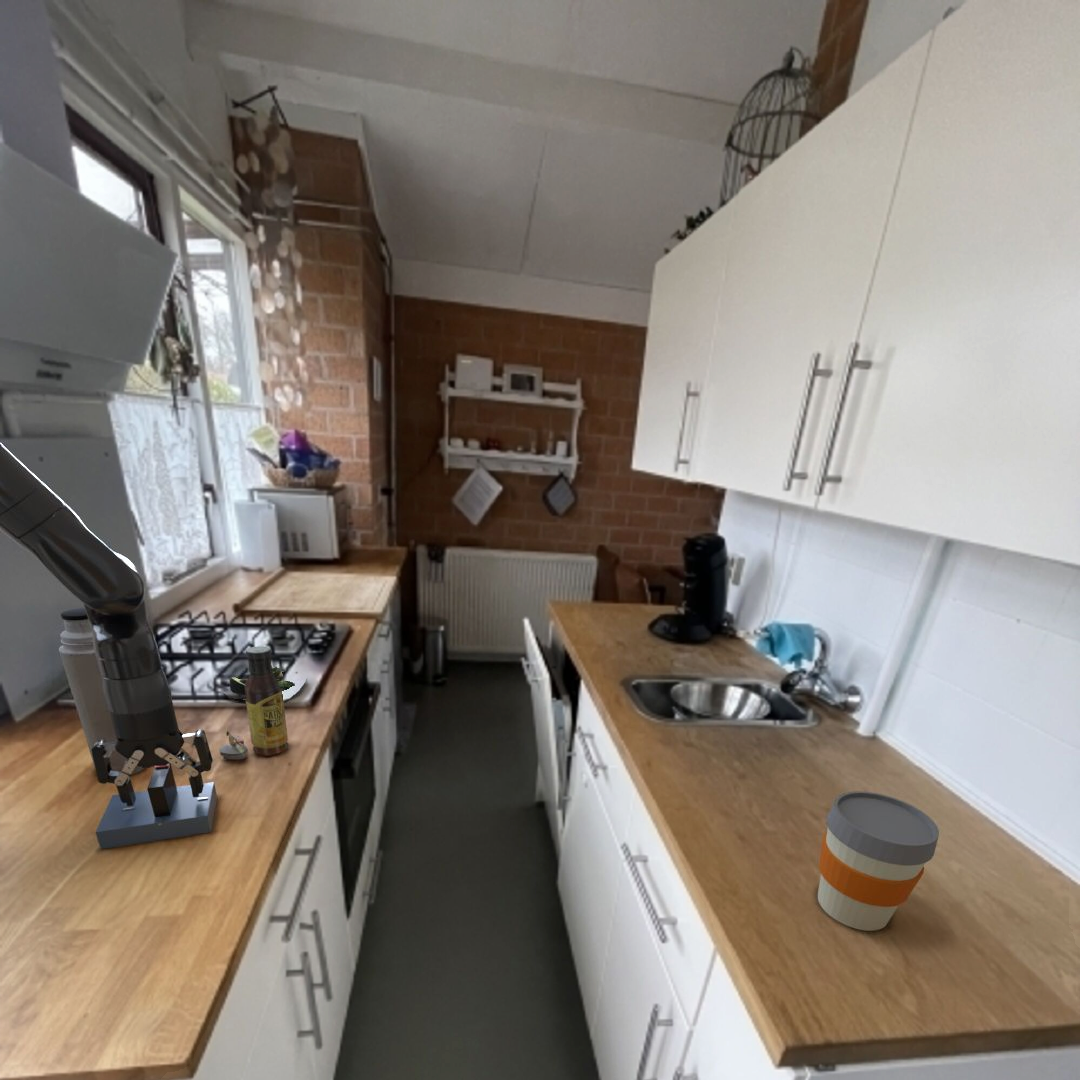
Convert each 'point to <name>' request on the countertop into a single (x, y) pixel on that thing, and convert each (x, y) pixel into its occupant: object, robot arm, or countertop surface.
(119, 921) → the countertop surface
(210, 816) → the rotary switch base
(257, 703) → the sauce bottle
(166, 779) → the black and red block
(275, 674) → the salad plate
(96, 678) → the thermos bottle
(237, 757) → the figurine
